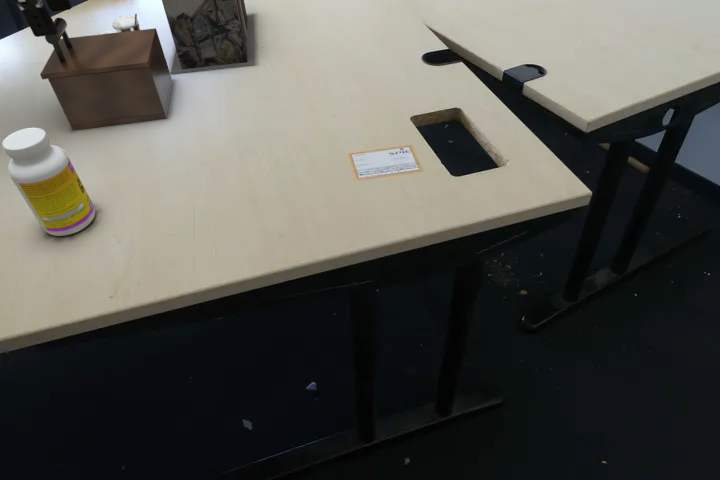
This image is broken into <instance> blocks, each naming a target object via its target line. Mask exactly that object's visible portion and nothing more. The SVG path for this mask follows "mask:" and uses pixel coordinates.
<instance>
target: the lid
mask: <svg viewBox="0 0 720 480" xmlns="http://www.w3.org/2000/svg"><path fill="white" fill-rule="evenodd" d="M53 22H54V24H55V26H56V28H57V31H58V32H57V34H56V35H48V36H44V39H45V41H46V42H47V43H48V44H50V45H52V47H53V50H52V52H51V54H50V55H49V58H48V60H47V61H46V63H45V64H44V66H43V67H42V71H41V72H40V74H39V75H40V78H41V79H42V80H48V79H50V78H58V77H67V76H75V75H84V74H92V73H101V72H109V71H118V70H126V69H135V68H143V67H149V65H150V61H151V57H152V53H153V49H154V44H155V40H156V36H157V34H158V30H157V28H156V27H155V28H147V29H140V30H136V31H127V32H118V33H109V34H100V35H95V34H92V35H83V36H75V37H69V35H68V33H67V30H66V29H67V27H68V23H67V21H66V20H65V18H62V17H55V18H54V20H53Z"/></svg>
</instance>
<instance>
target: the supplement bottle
mask: <svg viewBox="0 0 720 480" xmlns="http://www.w3.org/2000/svg"><path fill="white" fill-rule="evenodd" d="M1 146H2V148H3V149H4V152H5V154H6V155H7V156H8V157H9V158H10V160H9V162H8V164H7V173H8V175H9V177H10V179H11V180H12V182H13V183H14V185H15V187H16V188H17V190H18V191H19V193H20V194H21V196H22V198H23V200H24V201H25V203H26V204H27V206H28V208H29V209H30V210H31V212H32V214H33V215H34V217H35V219H36V220H37V222H38V223H39V225H40V226H41V228H42V229H43V231H44V232H46V233H47V234H49V235H51V236H55V237H56V236H57V237H62V236H63V237H64V236H69V235H72V234H75V233H78V232H80V231H82V230H83V229H85V228H87V227H88V225H90V224H91V222H92V221H94V218H95V216H96V208H95V206H94V204H93V202H92V200H91V198H90V196H89V194H88V192H87V191H86V188H85V186H84V185H83V182H82V181H81V179H80V177H79V175H78V173H77V171H76V169H75V167H74V166H73V164H72V162H71V160H70V158H69V156H68V154H67V152H66V151H65V150H64V149H63V148H62V147H60V146H57V145H55V144H51V140H50V137H49V136H48V134H47V133H46V131H45V129H42V128H40V127H26V128H21V129H19V130H16V131H13V132H12V133H10V134H9V135H7V136H6V137H5V138H4V139H3V141H2V142H1Z"/></svg>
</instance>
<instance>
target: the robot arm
mask: <svg viewBox="0 0 720 480" xmlns="http://www.w3.org/2000/svg"><path fill="white" fill-rule="evenodd" d="M45 1H46V4H44V5H43V0H14V2H16V4H17V6H18V8H19V10H20V11H21V12H22V14H23V15H24V16H23V17H25V20H26V23H27V24H28V26H29V28H30V30H31V32H32V34H33V36H34V37H37V38H38V37H45V36H48V35H56V34H57V32H58V31H57V28H56V26H55V24H54V20H53V18H52V15H51V13H50V12H60V11H69V10H71V9H72V7H73V6H72V4H71V1H70V0H45ZM47 6H48V7H47ZM48 8H49V9H48ZM49 10H50V11H49Z"/></svg>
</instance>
